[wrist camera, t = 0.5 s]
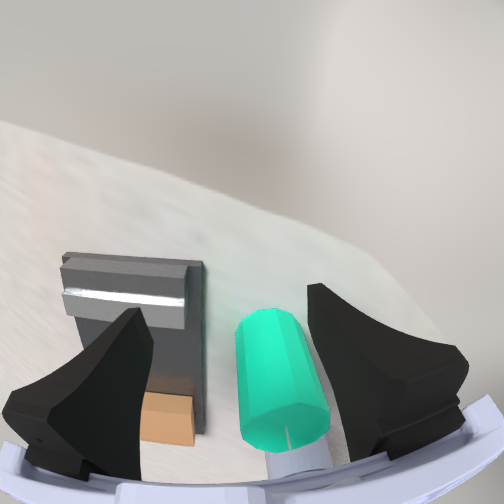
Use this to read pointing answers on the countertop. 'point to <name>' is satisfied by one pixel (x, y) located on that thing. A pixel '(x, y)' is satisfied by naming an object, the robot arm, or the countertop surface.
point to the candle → (278, 384)
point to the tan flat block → (167, 419)
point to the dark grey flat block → (144, 313)
